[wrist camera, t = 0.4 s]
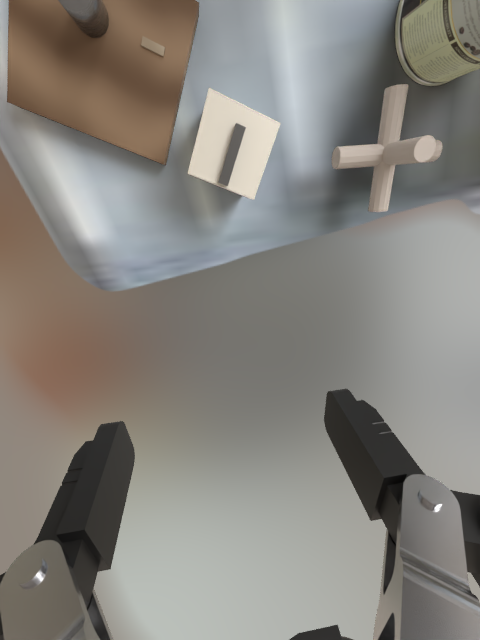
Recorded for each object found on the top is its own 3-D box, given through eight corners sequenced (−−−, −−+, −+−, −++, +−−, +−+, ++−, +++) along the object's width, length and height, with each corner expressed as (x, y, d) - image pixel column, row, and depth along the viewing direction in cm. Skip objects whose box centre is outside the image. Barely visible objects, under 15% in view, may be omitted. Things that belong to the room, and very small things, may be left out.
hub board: (26, -82, 20) (8, -110, 18) (198, 16, 24) (198, 1, 22) (20, 107, 25) (5, 101, 23) (165, 165, 28) (163, 164, 26)
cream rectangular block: (206, 109, 27) (209, 85, 20) (262, 135, 28) (282, 121, 22) (189, 175, 29) (187, 172, 22) (242, 196, 31) (255, 200, 24)
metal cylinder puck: (74, -17, 21) (49, -58, 17) (111, 3, 21) (94, -33, 18) (71, 27, 22) (46, -3, 18) (106, 44, 22) (88, 18, 19)
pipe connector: (312, 210, 32) (356, 221, 23) (318, 104, 28) (375, 68, 19) (392, 203, 33) (463, 211, 24) (410, 100, 29) (505, 63, 20)
